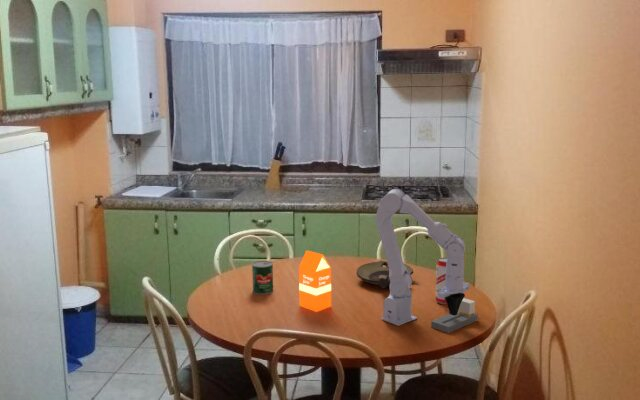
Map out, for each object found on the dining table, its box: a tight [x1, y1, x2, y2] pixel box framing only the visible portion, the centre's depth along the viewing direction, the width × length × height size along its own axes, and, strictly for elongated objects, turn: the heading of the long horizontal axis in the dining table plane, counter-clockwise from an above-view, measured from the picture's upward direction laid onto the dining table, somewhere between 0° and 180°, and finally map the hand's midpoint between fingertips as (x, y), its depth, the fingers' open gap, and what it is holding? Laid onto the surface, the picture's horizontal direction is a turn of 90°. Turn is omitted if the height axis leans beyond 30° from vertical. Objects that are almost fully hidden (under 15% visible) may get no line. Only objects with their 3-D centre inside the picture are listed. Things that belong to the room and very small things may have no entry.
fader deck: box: [430, 311, 479, 334], centre depth 208 cm, size 16×7×2 cm, turn 132°
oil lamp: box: [356, 260, 414, 289], centre depth 249 cm, size 22×30×8 cm
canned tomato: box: [251, 260, 274, 296], centre depth 241 cm, size 8×8×11 cm
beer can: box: [435, 257, 447, 305], centre depth 226 cm, size 6×6×16 cm
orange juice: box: [298, 250, 332, 313], centre depth 223 cm, size 8×9×20 cm
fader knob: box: [458, 297, 476, 315], centre depth 211 cm, size 3×5×4 cm, turn 42°
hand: (453, 314), depth 207 cm, fingers closed
